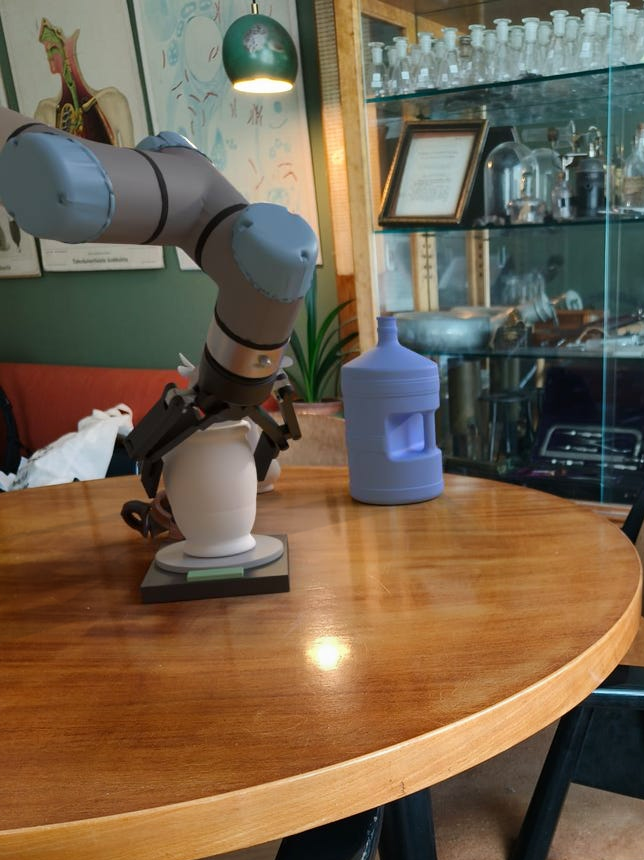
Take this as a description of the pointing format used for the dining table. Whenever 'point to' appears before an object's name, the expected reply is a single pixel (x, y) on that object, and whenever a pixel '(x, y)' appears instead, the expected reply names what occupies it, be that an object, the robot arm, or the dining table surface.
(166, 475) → the jar
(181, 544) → the scale
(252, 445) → the flower vase
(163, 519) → the pottery mug
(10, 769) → the dining table surface
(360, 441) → the water jug
